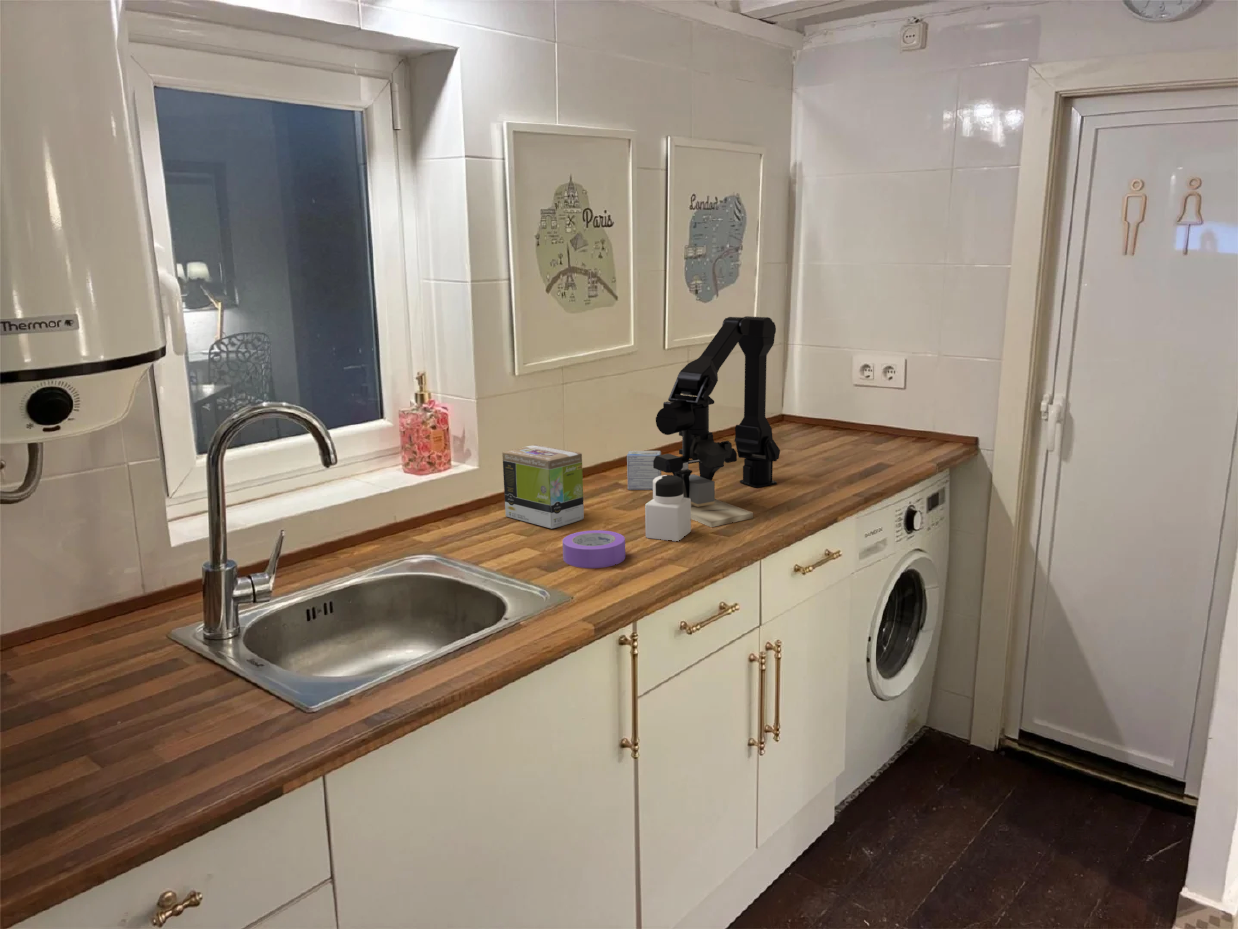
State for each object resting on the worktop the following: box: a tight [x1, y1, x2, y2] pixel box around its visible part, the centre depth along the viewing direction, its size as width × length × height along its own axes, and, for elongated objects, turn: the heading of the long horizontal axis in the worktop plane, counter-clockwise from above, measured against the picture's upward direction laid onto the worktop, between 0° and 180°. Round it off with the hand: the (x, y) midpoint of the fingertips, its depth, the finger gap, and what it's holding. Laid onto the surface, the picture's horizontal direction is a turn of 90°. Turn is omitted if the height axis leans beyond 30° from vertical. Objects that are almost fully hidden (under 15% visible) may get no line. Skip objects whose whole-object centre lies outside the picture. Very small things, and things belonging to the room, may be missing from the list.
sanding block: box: [683, 473, 716, 507], centre depth 206 cm, size 4×8×5 cm, turn 30°
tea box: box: [501, 444, 585, 529], centre depth 200 cm, size 15×10×15 cm
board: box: [651, 497, 754, 528], centre depth 205 cm, size 11×22×1 cm, turn 32°
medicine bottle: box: [644, 474, 692, 542], centre depth 187 cm, size 7×7×12 cm
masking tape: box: [562, 529, 626, 569], centre depth 176 cm, size 12×12×4 cm
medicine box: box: [626, 450, 662, 491], centre depth 223 cm, size 8×4×9 cm, turn 84°
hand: (695, 496), depth 207 cm, fingers closed on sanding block, 4 cm apart
